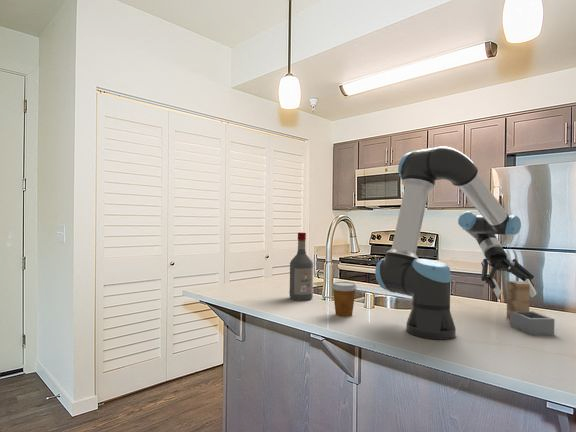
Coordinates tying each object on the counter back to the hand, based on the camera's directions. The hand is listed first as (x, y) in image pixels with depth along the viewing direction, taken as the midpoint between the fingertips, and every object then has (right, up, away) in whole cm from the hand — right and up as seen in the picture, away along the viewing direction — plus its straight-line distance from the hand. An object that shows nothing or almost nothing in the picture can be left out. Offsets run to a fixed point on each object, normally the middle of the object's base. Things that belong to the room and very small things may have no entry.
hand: (516, 295), depth 142 cm
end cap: (-4, -9, -14) cm, 17 cm away
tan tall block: (-1, -9, -2) cm, 9 cm away
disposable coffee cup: (-65, -8, +2) cm, 65 cm away
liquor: (-80, -8, +29) cm, 86 cm away
